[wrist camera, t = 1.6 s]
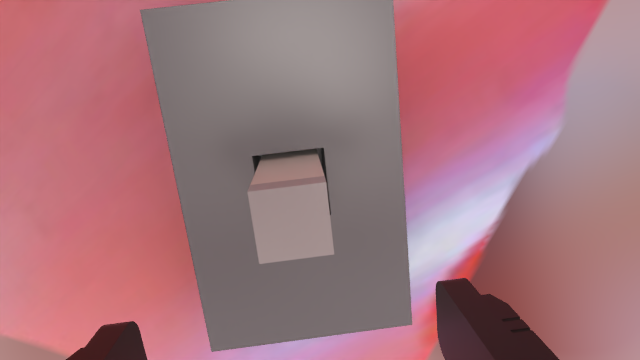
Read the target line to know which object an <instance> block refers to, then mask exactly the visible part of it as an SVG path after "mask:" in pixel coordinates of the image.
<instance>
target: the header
mask: <svg viewBox="0 0 640 360" xmlns="http://www.w3.org/2000/svg"><path fill="white" fill-rule="evenodd" d="M140 12H141V17H142V22H143V26H144V31H145V36H146V41H147V46H148V50H149V55H150V60H151V65H152V69H153V74H154V79H155V84H156V88H157V93H158V98H159V103H160V108H161V112H162V117H163V122H164V127H165V131H166V136H167V141H168V146H169V150H170V155H171V160H172V165H173V170H174V174H175V179H176V184H177V189H178V193H179V198H180V203H181V208H182V212H183V217H184V222H185V227H186V232H187V236H188V241H189V246H190V251H191V255H192V260H193V265H194V270H195V275H196V279H197V284H198V289H199V294H200V298H201V303H202V308H203V313H204V317H205V322H206V327H207V332H208V337H209V341H210V346H211V351H212V352H214V351H221V350H228V349H236V348H243V347H251V346H258V345H265V344H273V343H280V342H287V341H295V340H302V339H310V338H317V337H324V336H332V335H339V334H346V333H354V332H361V331H369V330H376V329H383V328H391V327H398V326H406V325H412V313H411V296H410V279H409V262H408V245H407V228H406V211H405V194H404V177H403V160H402V143H401V126H400V109H399V92H398V75H397V58H396V41H395V24H394V7H393V0H228V1H219V2H209V3H200V4H191V5H181V6H172V7H163V8H154V9H144V10H140ZM315 148H316V150H317V153H318V156H319V160H320V163H321V166H322V169H323V173H324V176H325V179H326V184H327V193H328V202H329V211H330V220H331V229H332V238H333V247H334V255H326V256H318V257H310V258H303V259H295V260H287V261H279V262H272V263H264V264H259V260H258V253H257V247H256V241H255V235H254V229H253V223H252V217H251V211H250V204H249V198H248V189H249V187H250V184H251V182H252V179H253V177H254V174H255V172H256V169H257V167H258V164H259V162H260V159H261V157H262V155H266V154H274V153H282V152H290V151H299V150H307V149H315Z"/></svg>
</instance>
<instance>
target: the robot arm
mask: <svg viewBox="0 0 640 360" xmlns="http://www.w3.org/2000/svg"><path fill="white" fill-rule="evenodd" d="M436 308H437V331H438V339H439V344H440V347H441V350H442V353H443V356H444V358H445V360H559V359H558V358H557V357H556V356H555V354H554V353H553V352H552V351H551V350H550V349H549V348H548V347H547V346H546V345H545V344H544V343H543V341H542V340H541V339H540V338H539V337H538V336H537V335H536V334H535V333H534V332H533V331H531V330H530V328H529V326H528V325H527V324H526V323H525V322H524V321H523V320H522V319H521V320H520V317H519V316H518V314H517V313H516V312H515V311H514V310H513V309H512V308H511V307H510V306H509V305H508V304H507V303H505V302H503V301H502V300H500V299H498V298H496V297H494V296H492V295H491V294H487V295H480V294H479V293H478V291H477V290H476V289H475V288H474V287H473V285H472V284H471V283H470V282H469V281H468V280H467V279H466V278H460V279H453V280H445V281H438V282H437V284H436ZM66 360H147V357H146V353H145V349H144V346H143V342H142V338H141V334H140V330H139V327H138V325H137V324H136V323H135V322H134V321H131V322H123V323H116V324H108V325H103V326H102V327H100V329H99V330H98V331H97V332H96V334H95V335H94V336H93V338H92V339H91V340H90V341H89V343H88V344H87V345H86V347H85V348H80V349H79V350H78V351H77V352H75V353H74V354H73V355H71V356H70V357H69V358H67V359H66Z"/></svg>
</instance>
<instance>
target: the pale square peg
mask: <svg viewBox="0 0 640 360" xmlns="http://www.w3.org/2000/svg"><path fill="white" fill-rule="evenodd" d="M248 198H249V204H250V211H251V217H252V223H253V229H254V235H255V241H256V247H257V253H258V260H259V264H264V263H272V262H279V261H287V260H295V259H303V258H310V257H318V256H326V255H334V247H333V238H332V229H331V220H330V211H329V202H328V193H327V184H326V179H325V176H324V173H323V169H322V166H321V163H320V160H319V156H318V153H317V150H316V148H315V149H307V150H299V151H290V152H282V153H274V154H266V155H262V157H261V159H260V162H259V164H258V167H257V169H256V172H255V174H254V177H253V179H252V182H251V184H250V187H249V189H248Z"/></svg>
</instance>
